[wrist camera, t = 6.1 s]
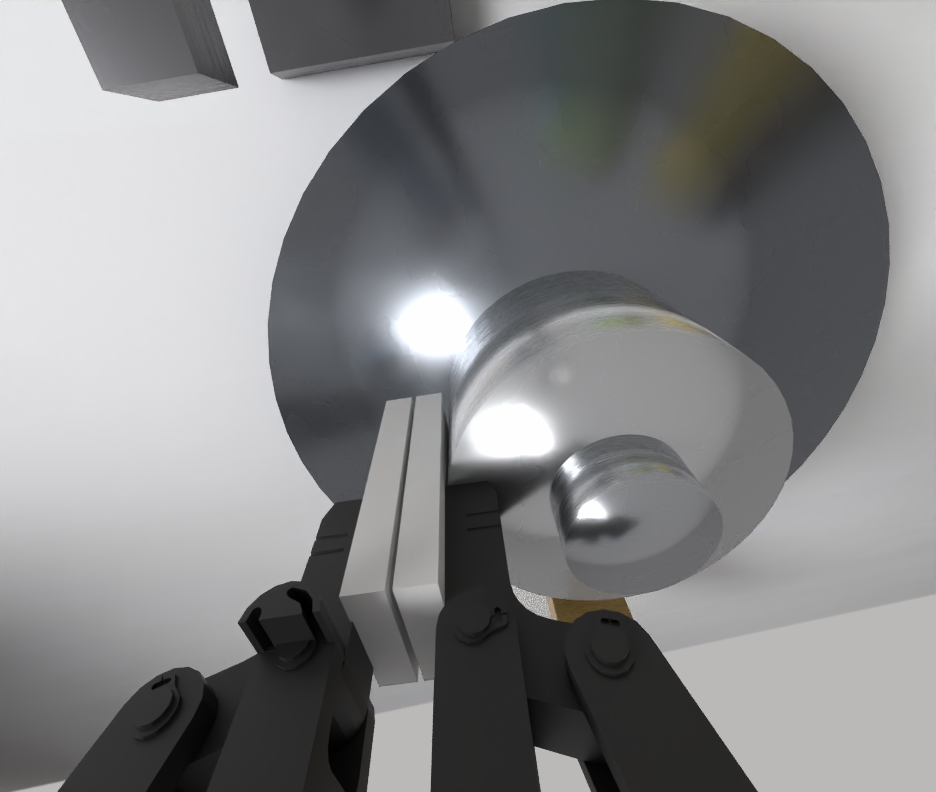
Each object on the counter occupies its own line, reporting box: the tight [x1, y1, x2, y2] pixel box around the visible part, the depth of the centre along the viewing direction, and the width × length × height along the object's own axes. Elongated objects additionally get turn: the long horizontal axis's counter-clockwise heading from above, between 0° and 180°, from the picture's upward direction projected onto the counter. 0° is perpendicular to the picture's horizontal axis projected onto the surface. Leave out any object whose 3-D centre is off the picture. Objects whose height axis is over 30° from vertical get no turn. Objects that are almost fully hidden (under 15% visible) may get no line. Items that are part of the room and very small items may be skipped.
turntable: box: [268, 0, 890, 623], centre depth 14 cm, size 20×22×7 cm
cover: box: [448, 270, 793, 601], centre depth 12 cm, size 8×8×7 cm
